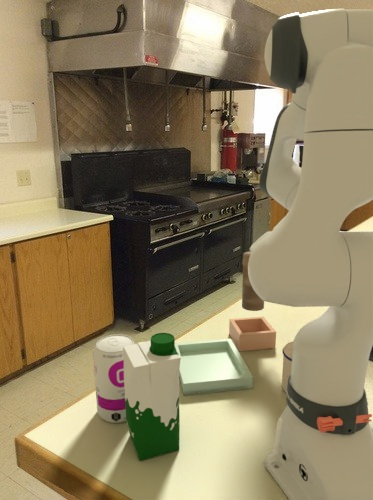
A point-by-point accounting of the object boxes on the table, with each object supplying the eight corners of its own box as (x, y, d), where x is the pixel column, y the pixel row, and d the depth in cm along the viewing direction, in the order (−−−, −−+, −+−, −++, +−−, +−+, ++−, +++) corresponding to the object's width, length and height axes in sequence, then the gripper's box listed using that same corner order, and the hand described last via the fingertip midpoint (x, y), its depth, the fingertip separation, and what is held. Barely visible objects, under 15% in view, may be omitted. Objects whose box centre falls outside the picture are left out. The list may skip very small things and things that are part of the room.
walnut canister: (267, 310, 107) (269, 256, 104) (245, 311, 106) (247, 257, 103) (259, 302, 113) (261, 251, 109) (239, 303, 112) (240, 252, 108)
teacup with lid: (314, 407, 85) (318, 354, 82) (273, 391, 90) (275, 341, 87) (335, 380, 94) (340, 332, 91) (296, 367, 99) (300, 321, 96)
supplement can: (146, 416, 83) (143, 346, 79) (105, 430, 79) (100, 357, 75) (130, 394, 89) (127, 329, 86) (92, 407, 86) (87, 339, 82)
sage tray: (252, 388, 91) (253, 376, 91) (183, 395, 89) (183, 383, 88) (230, 348, 108) (230, 338, 108) (172, 353, 106) (172, 343, 105)
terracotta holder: (275, 348, 109) (276, 331, 107) (239, 351, 107) (239, 335, 106) (262, 331, 118) (263, 316, 117) (229, 334, 116) (229, 319, 115)
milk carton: (186, 452, 73) (185, 347, 68) (134, 467, 70) (129, 357, 65) (169, 421, 81) (167, 325, 76) (122, 433, 78) (117, 333, 73)
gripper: (267, 220, 115) (232, 257, 116) (298, 236, 96) (255, 280, 97) (282, 235, 117) (247, 271, 118) (316, 254, 98) (273, 297, 99)
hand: (251, 275), depth 107 cm, fingers closed on walnut canister, 6 cm apart
